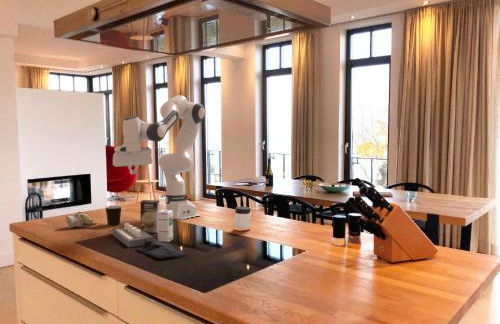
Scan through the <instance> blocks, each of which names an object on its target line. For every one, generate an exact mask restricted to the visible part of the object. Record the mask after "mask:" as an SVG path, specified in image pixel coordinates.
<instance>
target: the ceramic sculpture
mask: <svg viewBox="0 0 500 324" xmlns="http://www.w3.org/2000/svg"><path fill="white" fill-rule="evenodd" d="M65 219H66V224H67V226H68V228H70V229H73V228H74V227H76V228H86V227H88V228H89V227H90V228H91V227H93V226H95V225H97V223H96V222H95V223H94V219H90V216H89V215H88V214H85V213H82V212H81V211H78V212H76V213H75V214H74V215H68V214H66V215H65Z"/></svg>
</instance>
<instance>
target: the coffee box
mask: <svg viewBox="0 0 500 324" xmlns="http://www.w3.org/2000/svg"><path fill="white" fill-rule="evenodd" d="M159 211H160V200H156V199H155V200H153V199H152V200H150V199H149V200H147V199H143V200H141V202H140V219H139V220H140V221H139V222H140V224H139V225H140V228H139V229H141V230H143V231H144V232H146V233H154V234H155V233H157V234H158V214H157V212H159Z"/></svg>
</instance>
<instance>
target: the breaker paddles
mask: <svg viewBox="0 0 500 324" xmlns="http://www.w3.org/2000/svg"><path fill="white" fill-rule="evenodd" d="M123 224H124V227H123V228H124V229H125V230H128V232H131V234H133V235H135V236H136V237H137V238H138V237H141V230H137V228H136V227H137V226H136V227H134V225H132V224H130V223H129V222H125V223H123Z"/></svg>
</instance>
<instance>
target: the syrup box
mask: <svg viewBox="0 0 500 324" xmlns="http://www.w3.org/2000/svg"><path fill="white" fill-rule="evenodd" d="M157 214H158V232H157V241H160V242H163V243H169V242H171V241H172V240H174V219H173V210H165V209H162V210H159V212H157Z"/></svg>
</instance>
